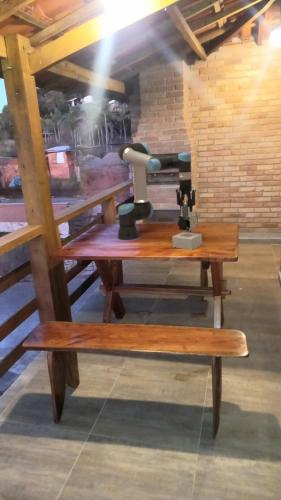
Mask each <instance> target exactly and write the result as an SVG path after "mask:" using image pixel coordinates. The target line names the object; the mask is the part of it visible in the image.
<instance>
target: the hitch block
mask: <svg viewBox="0 0 281 500" xmlns="http://www.w3.org/2000/svg"><path fill="white" fill-rule="evenodd" d="M171 237H172V238H171V239H172V248H175V247H176V249H181V248H182V249H183V250H189V251H193V250H194V249H196V248H197V249H198V247H200V246H202V245H203V235H202V233H196V232H195V233H189V232H185V231H182V232H179V233H177V234H175V235H173V236H171Z"/></svg>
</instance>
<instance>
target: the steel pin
mask: <svg viewBox="0 0 281 500" xmlns="http://www.w3.org/2000/svg"><path fill="white" fill-rule="evenodd" d="M182 202H183V219H184V220H189V219H190V217H188V207H189V203H188V198H187V199H184V200H182Z"/></svg>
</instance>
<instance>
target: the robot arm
mask: <svg viewBox="0 0 281 500" xmlns="http://www.w3.org/2000/svg"><path fill="white" fill-rule="evenodd" d="M117 153H118V158H119V160H120V161H122V162H125V163H130V164H131V165H132V172H133V181H134V182H133V184H134V196H135V197H134V198H135V199H134V200H133V203H132V202H131V203H129V202H128V203H125V204H121V205H119V207H118V208H117V209H118V211H117V214H118V225H119V227H118V231H117V239H119V240H123V241H124V240H125V241H126V240H134V239H137V238H139V237H140V234H139V232H138V231H139V230H138V229H137V226H136V225H137V223H136V222H138V221H142V220H147V219H149V218H151V217H152V216H153V214H154V206H153V203H151V202H150V199H148V191H147V190H148V189H147V176H146V175H147V174H146V168H147V169H148V170H149V172H152V173H153V172H155V173H156V172H160V171H168V170H178V179H179V180H178V182H179V184H178V185H179V187H178V188H177V189H175V193H176V204H177V206H179V210H180V212H181V217H183V202H182V200H185V196H186V197H187V199H188V203H189V207H188V217H192V212H193V208H194V206H196V194H197V193H196V192H197V189H194V188H193V187H192V183H193V181H192V157H191V153H190V152H180V153H178V154H177V155H178V156H174V155H171V156H167V157H156V156H152V155H151V151H150V148H149V146H148V145H147V144H146V143H144V142H135V143H134V142H132V143H125V144H123V145H121V146H120V147H119V149H118V152H117Z"/></svg>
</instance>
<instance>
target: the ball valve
mask: <svg viewBox="0 0 281 500" xmlns="http://www.w3.org/2000/svg"><path fill="white" fill-rule="evenodd" d="M198 218H199V216H198V215H197V212H195V211H194V212H193V211H192V217H190V219H189V220H184V219H183V217H181V215H178V221H177V226H178V230H179V231H184V232H189V233H196V231H194V230H193V229H194V228H195V227H197V225H198V224H199V219H198Z"/></svg>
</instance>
